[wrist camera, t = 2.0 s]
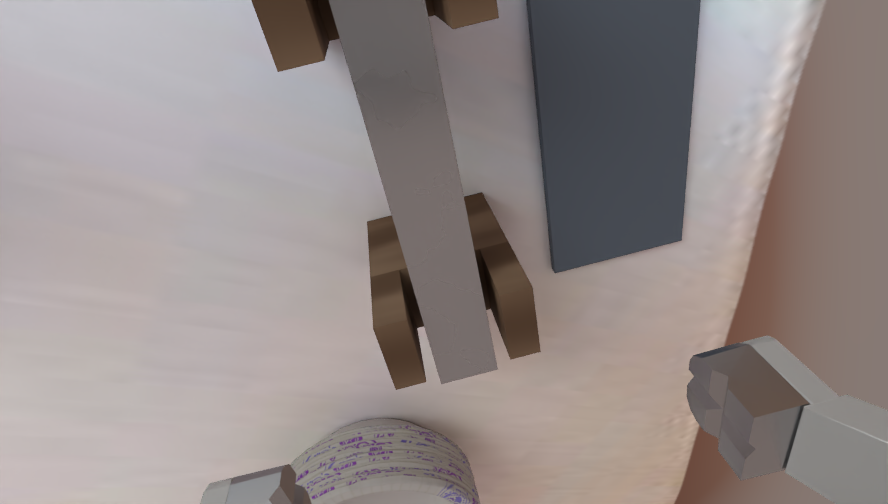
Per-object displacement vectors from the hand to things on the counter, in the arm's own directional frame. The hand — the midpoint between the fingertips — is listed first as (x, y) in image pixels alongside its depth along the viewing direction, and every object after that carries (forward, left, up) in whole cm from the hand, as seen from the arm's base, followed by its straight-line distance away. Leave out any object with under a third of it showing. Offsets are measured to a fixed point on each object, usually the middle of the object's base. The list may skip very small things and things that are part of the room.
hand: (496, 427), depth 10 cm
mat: (0, +12, -21) cm, 24 cm away
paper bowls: (+27, -9, -21) cm, 35 cm away
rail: (0, 0, -15) cm, 15 cm away
